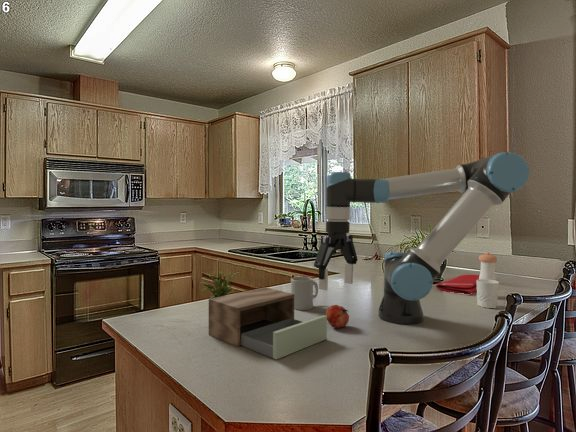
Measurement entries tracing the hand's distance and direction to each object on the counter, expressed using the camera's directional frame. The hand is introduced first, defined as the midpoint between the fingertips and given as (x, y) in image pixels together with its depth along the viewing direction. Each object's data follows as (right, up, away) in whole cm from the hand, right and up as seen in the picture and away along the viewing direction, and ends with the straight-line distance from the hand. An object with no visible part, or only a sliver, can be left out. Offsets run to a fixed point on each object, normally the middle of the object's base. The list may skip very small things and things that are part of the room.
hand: (336, 286), depth 124 cm
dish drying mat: (+72, -12, +64) cm, 97 cm away
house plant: (-39, -13, +13) cm, 43 cm away
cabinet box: (-27, -13, -4) cm, 30 cm away
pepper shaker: (+71, -12, +42) cm, 83 cm away
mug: (-9, -12, +24) cm, 29 cm away
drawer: (-17, -13, -14) cm, 26 cm away
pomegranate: (0, -13, 0) cm, 13 cm away
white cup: (+62, -13, +27) cm, 69 cm away
